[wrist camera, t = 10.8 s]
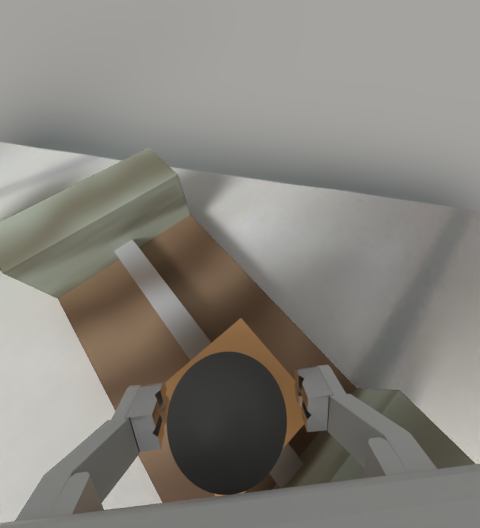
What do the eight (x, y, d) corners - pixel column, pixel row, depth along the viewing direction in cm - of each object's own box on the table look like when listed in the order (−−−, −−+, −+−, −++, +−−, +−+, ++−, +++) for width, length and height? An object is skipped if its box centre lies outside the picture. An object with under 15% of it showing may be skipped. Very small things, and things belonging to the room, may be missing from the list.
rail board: (52, 270, 20) (-16, 229, 15) (170, 200, 24) (149, 147, 18) (255, 649, 11) (266, 902, 6) (399, 443, 14) (491, 479, 9)
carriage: (166, 391, 14) (73, 400, 6) (241, 326, 16) (239, 271, 8) (228, 490, 12) (202, 685, 4) (306, 404, 14) (389, 430, 6)
